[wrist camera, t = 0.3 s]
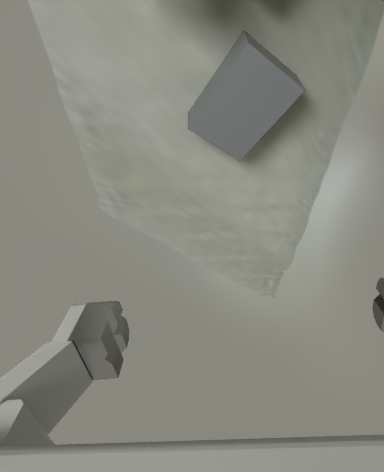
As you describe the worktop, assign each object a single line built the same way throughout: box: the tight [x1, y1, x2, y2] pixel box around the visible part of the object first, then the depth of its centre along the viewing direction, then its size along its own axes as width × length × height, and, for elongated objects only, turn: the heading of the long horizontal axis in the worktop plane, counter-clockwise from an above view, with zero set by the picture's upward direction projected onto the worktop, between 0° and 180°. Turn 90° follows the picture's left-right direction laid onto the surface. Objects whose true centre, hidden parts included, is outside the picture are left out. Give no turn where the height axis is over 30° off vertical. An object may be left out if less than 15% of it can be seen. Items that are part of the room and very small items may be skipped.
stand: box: [188, 31, 305, 161], centre depth 53 cm, size 16×12×6 cm
